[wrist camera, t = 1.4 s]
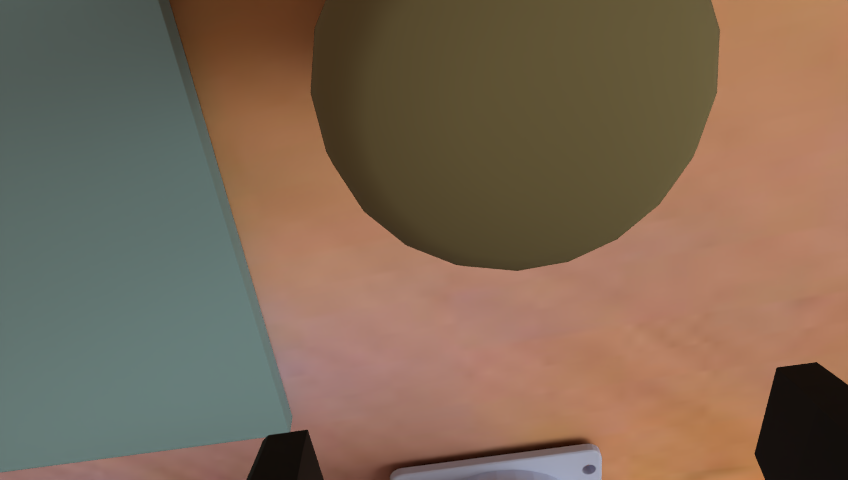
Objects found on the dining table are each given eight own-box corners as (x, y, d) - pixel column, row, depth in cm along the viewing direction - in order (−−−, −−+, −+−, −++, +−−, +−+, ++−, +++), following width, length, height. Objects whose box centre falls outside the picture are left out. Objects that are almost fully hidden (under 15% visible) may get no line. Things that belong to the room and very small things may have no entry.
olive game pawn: (336, 96, 18) (291, 353, 9) (315, -161, 15) (212, -196, 6) (555, 89, 19) (742, 331, 9) (576, -165, 16) (889, -206, 6)
